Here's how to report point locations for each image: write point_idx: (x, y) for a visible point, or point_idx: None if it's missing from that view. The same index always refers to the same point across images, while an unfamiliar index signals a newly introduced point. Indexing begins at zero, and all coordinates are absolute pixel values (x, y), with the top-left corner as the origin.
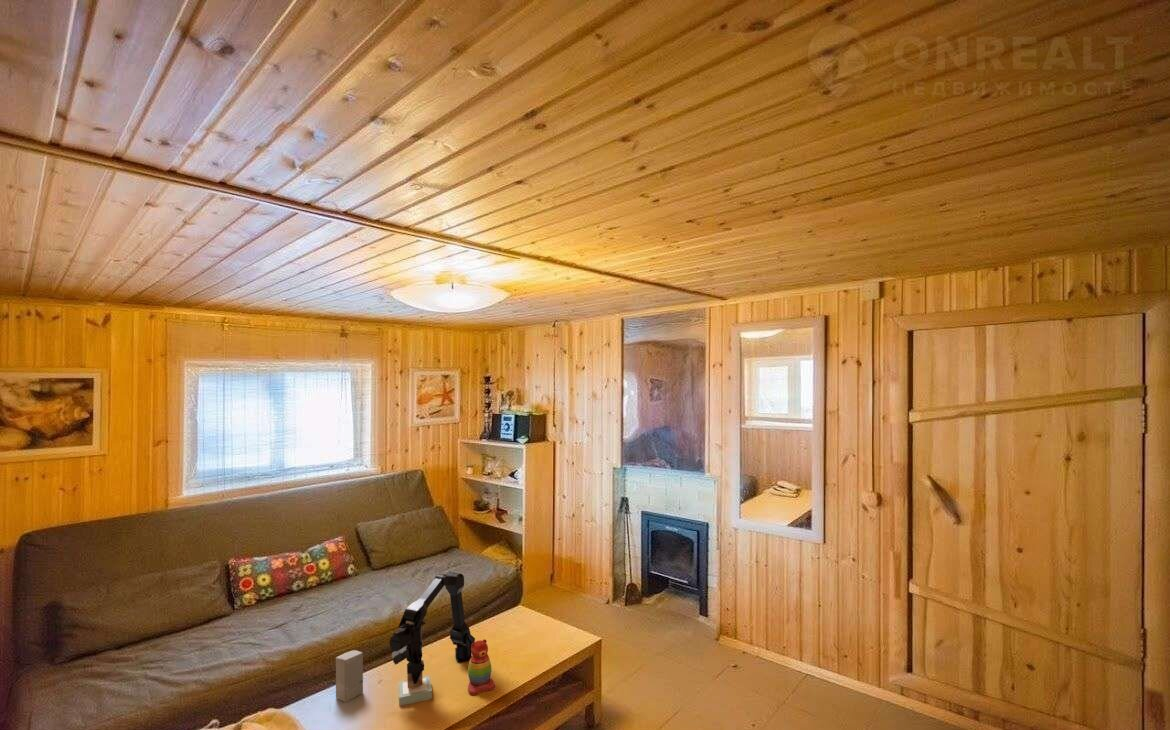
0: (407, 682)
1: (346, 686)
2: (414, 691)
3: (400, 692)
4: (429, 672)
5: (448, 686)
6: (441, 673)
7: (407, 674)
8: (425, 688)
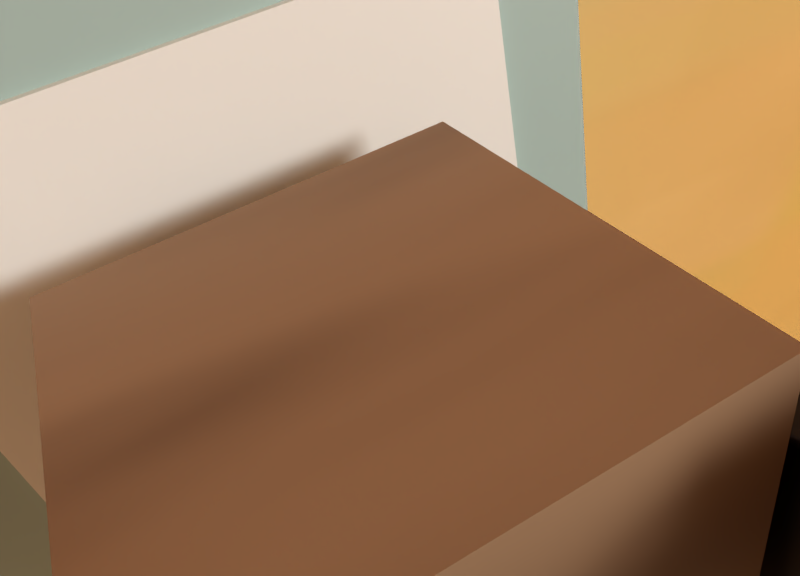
0: (343, 172)
1: None
2: (24, 424)
3: None
4: (762, 213)
5: None
6: None
7: (369, 408)
8: None
